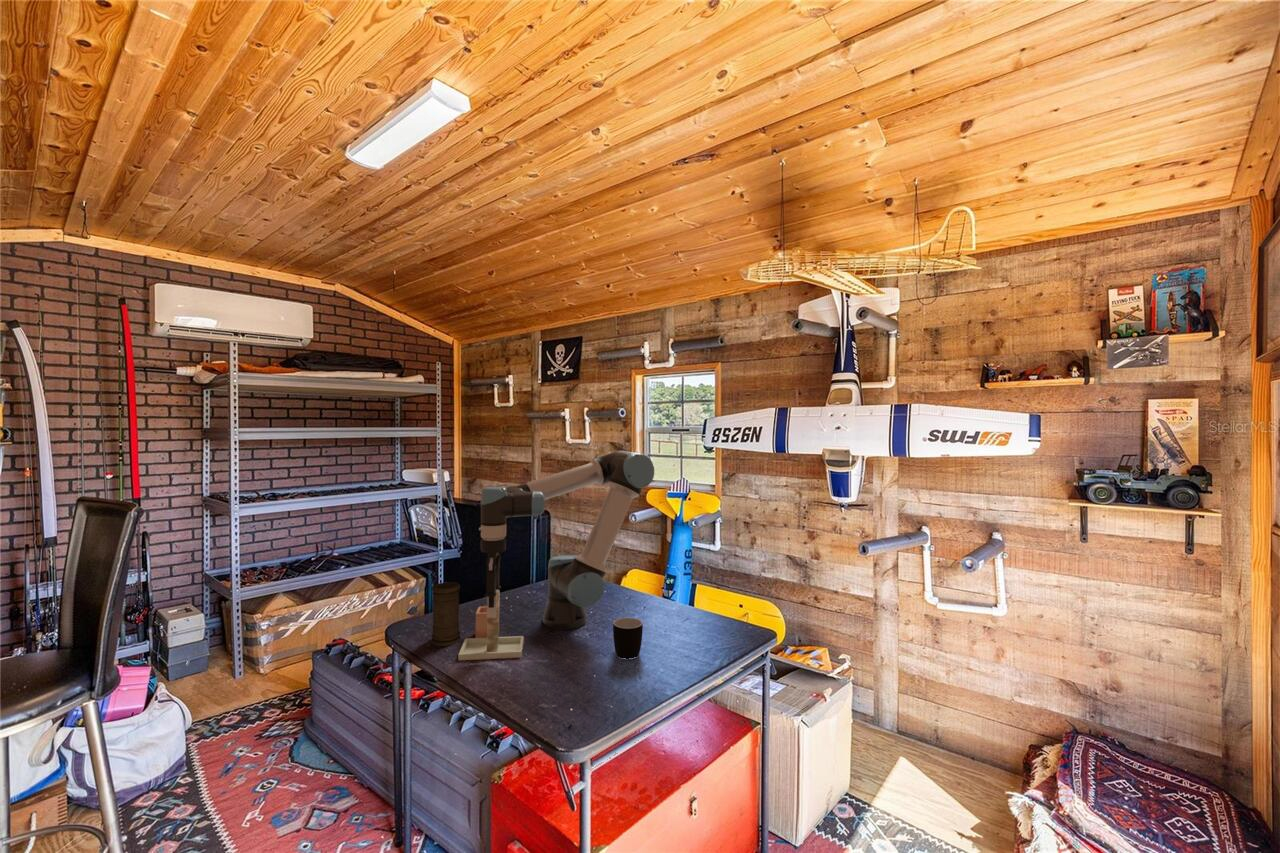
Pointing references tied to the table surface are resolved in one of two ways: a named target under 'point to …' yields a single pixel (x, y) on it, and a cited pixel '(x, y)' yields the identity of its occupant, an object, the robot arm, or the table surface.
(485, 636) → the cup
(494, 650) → the dowel
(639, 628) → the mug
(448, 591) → the container
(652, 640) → the table surface
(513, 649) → the tray
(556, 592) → the robot arm
